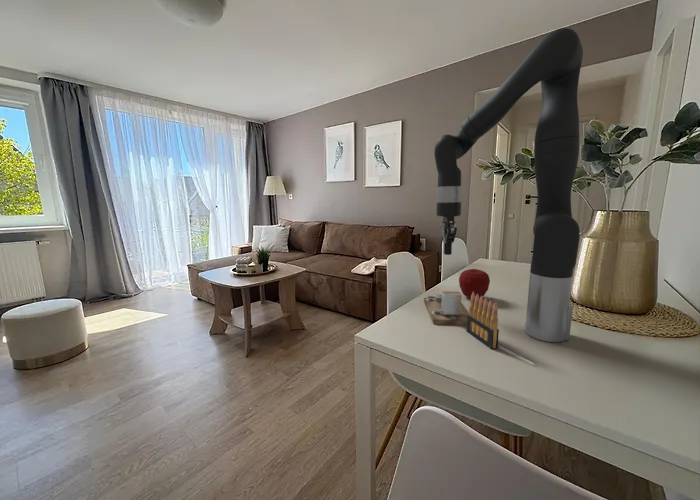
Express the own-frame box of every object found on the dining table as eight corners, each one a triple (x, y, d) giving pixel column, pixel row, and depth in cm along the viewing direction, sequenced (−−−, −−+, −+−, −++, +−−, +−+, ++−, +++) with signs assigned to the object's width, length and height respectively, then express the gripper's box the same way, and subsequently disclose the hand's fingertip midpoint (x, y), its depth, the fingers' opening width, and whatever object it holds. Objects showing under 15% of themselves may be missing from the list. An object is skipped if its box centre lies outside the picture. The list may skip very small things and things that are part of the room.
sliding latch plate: (457, 302, 106) (457, 294, 105) (474, 325, 86) (474, 315, 86) (423, 301, 107) (424, 293, 107) (433, 324, 88) (433, 314, 87)
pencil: (535, 366, 64) (480, 338, 78) (536, 369, 64) (481, 340, 78) (537, 363, 64) (482, 335, 78) (538, 366, 65) (484, 338, 78)
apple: (459, 292, 117) (461, 264, 115) (488, 295, 112) (490, 266, 110) (456, 300, 107) (457, 270, 106) (488, 304, 103) (490, 272, 101)
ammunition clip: (498, 348, 73) (501, 303, 71) (491, 349, 72) (494, 303, 70) (471, 330, 83) (474, 290, 81) (466, 331, 82) (468, 290, 80)
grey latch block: (457, 310, 92) (458, 290, 91) (460, 315, 89) (461, 294, 87) (433, 309, 93) (433, 290, 92) (435, 314, 89) (436, 294, 88)
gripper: (466, 200, 86) (464, 258, 89) (455, 201, 99) (454, 251, 102) (440, 201, 87) (439, 258, 89) (433, 201, 100) (432, 251, 102)
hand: (447, 254), depth 96 cm, fingers closed
